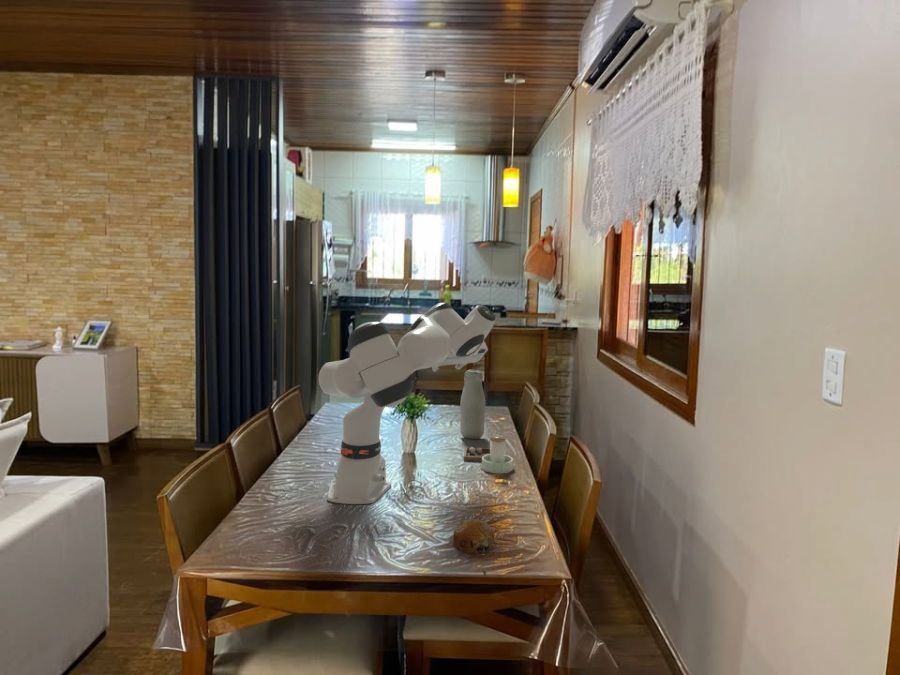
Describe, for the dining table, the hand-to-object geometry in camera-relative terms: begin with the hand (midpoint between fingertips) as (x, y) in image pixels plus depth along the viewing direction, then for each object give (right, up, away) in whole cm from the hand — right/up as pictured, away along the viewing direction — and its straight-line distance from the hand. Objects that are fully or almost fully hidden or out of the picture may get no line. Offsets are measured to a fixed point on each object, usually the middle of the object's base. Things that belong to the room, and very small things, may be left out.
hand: (445, 368), depth 207 cm
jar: (+17, -33, -2) cm, 38 cm away
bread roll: (+7, -41, -57) cm, 71 cm away
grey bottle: (+10, -30, +35) cm, 47 cm away
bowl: (+17, -34, -2) cm, 38 cm away
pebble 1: (+9, -31, +13) cm, 35 cm away
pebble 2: (+12, -31, +13) cm, 36 cm away
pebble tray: (+12, -33, +10) cm, 36 cm away
